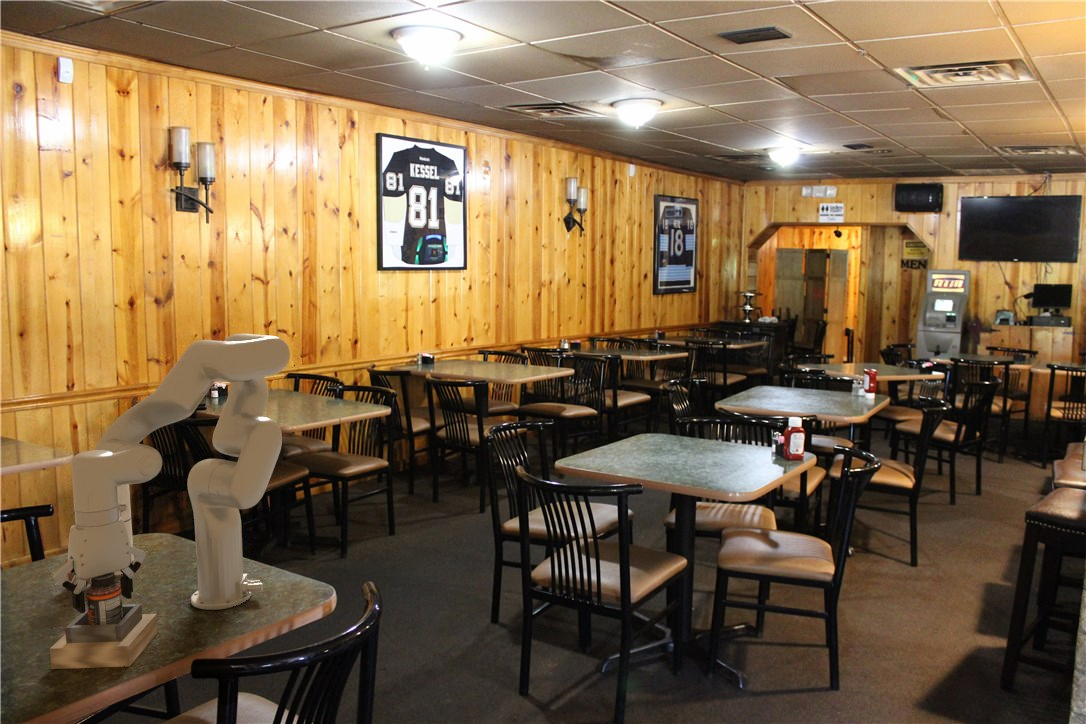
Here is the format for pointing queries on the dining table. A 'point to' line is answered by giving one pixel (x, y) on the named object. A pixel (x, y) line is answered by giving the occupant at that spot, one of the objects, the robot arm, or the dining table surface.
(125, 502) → the cylindrical container
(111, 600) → the supplement bottle
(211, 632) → the dining table surface
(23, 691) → the dining table surface
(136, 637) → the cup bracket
